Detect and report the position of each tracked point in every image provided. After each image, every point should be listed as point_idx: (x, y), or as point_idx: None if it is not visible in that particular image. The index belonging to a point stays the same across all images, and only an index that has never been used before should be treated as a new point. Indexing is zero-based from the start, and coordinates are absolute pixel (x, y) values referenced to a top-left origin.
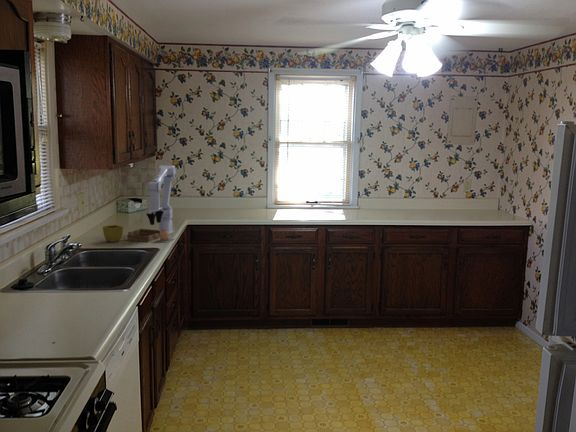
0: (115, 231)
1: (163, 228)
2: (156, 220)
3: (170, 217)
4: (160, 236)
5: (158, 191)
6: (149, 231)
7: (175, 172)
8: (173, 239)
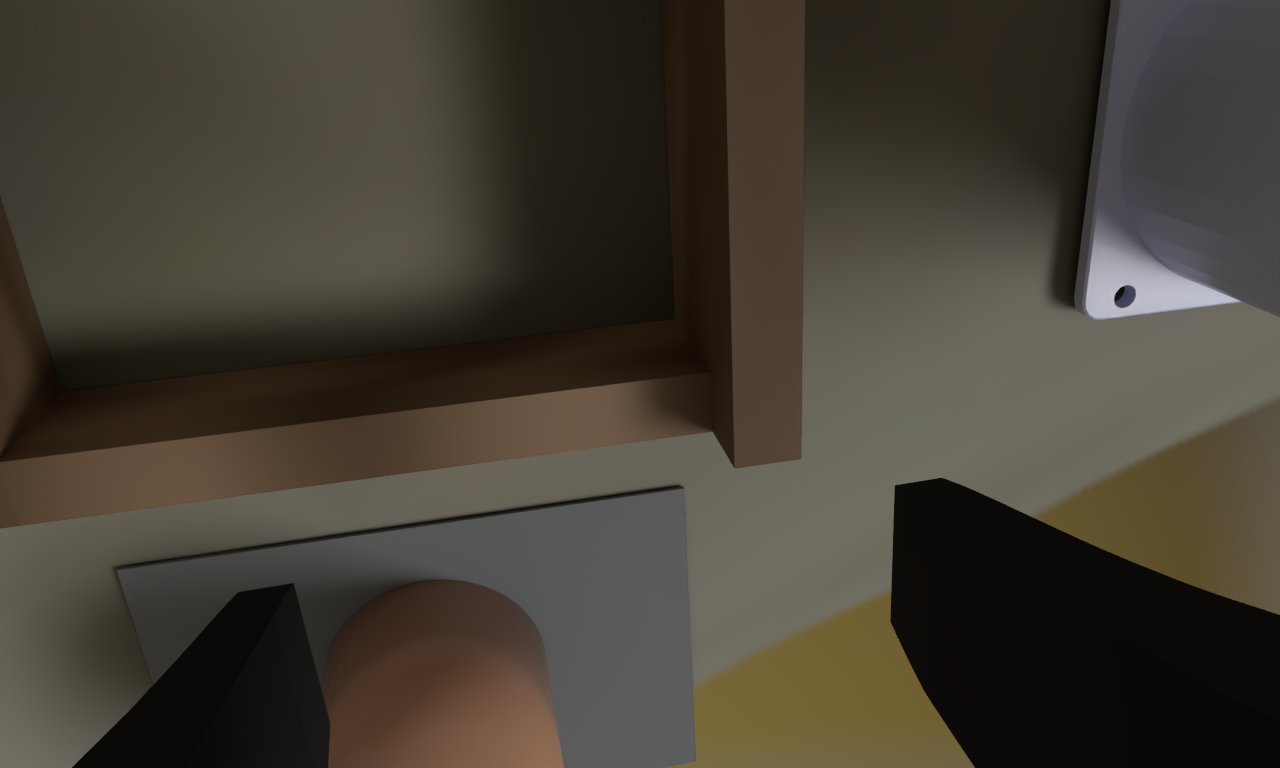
0: None
1: (1243, 238)
2: (944, 520)
3: None
4: None
5: None
6: (709, 22)
7: None
8: (630, 761)
